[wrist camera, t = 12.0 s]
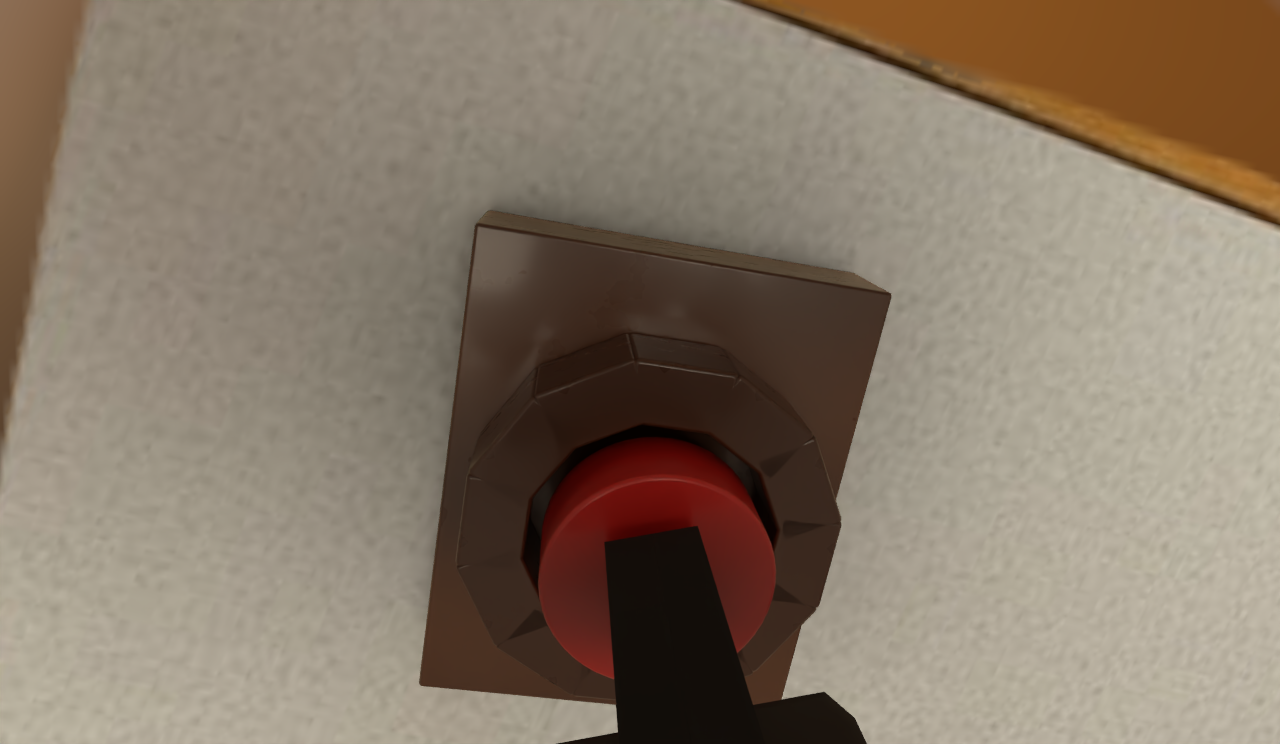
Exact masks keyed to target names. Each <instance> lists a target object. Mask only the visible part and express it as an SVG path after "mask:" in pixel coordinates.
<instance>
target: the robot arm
mask: <svg viewBox="0 0 1280 744" xmlns="http://www.w3.org/2000/svg"><path fill="white" fill-rule="evenodd" d="M604 545H605V559H606V573H607V586H608V600H609V614H610V627H611V641H612V655H613V668H614V682H615V695H616V709H617V723H618V733H612V734H607V735H601V736H596V737H590V738H585V739H580V740H574V741H569V742H563V743H558V744H867V743H866V741H865V739H864V737H863V735H862V732H861V730H860V728H859V726H858V724H857V722H856V720H855V718H854V717H853V716H852V715H851V714H849V713H848V712H847V711H846V710H845V709H844V708H842V707H841V706H840V705H839V704H838V703H837V702H836V701H834V700H833V699H832V698H831V697H830V696H829V695H828V694H826V693H825V692H821V693H816V694H810V695H805V696H799V697H794V698H788V699H783V700H777V701H772V702H766V703H761V704H755V705H753V703H752V700H751V697H750V693H749V690H748V687H747V684H746V680H745V677H744V674H743V671H742V667H741V664H740V661H739V658H738V654H737V651H736V648H735V645H734V641H733V638H732V635H731V632H730V629H729V625H728V622H727V619H726V616H725V612H724V609H723V606H722V603H721V599H720V596H719V593H718V590H717V586H716V583H715V580H714V577H713V573H712V570H711V567H710V564H709V560H708V557H707V554H706V551H705V548H704V544H703V541H702V538H701V535H700V531H699V528H698V526H692V527H687V528H681V529H675V530H670V531H664V532H658V533H653V534H647V535H641V536H636V537H630V538H624V539H618V540H613V541H607V542H604Z"/></svg>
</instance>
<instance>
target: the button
mask: <svg viewBox="0 0 1280 744" xmlns="http://www.w3.org/2000/svg"><path fill="white" fill-rule="evenodd" d="M692 526H698V528H699V531H700V535H701V538H702V541H703V544H704V548H705V551H706V554H707V557H708V560H709V564H710V567H711V570H712V573H713V577H714V580H715V583H716V586H717V590H718V593H719V596H720V599H721V603H722V606H723V609H724V612H725V616H726V619H727V622H728V625H729V629H730V632H731V635H732V638H733V641H734V645H735V648H736V651H737V653H738V652H739V651H740V650H741V649H742V648H743V647H745V646H746V644H747V643H748V642H749V641H750V640H751V639H752V637H753V636H754V635H755V634H756V632H757V631H758V629H759V628H760V626H761V625H762V623H763V621H764V619H765V617H766V615H767V613H768V610H769V607H770V604H771V601H772V598H773V594H774V589H775V583H776V564H775V555H774V552H773V548H772V544H771V541H770V539H769V536H768V534H767V532H766V530H765V527H764V525H763V523H762V521H761V519H760V517H759V515H758V513H757V510H756V508H755V506H754V504H753V502H752V500H751V498H750V496H749V493H748V491H747V489H746V488H745V486H744V484H743V483H742V481H741V479H740V478H739V477H738V476H737V474H736V473H735V472H734V471H733V470H732V468H731V467H730V466H728V465H727V464H726V463H725V462H724V461H723V460H722V459H720V458H719V457H717V456H716V455H714V454H713V453H711V452H710V451H708V450H706V449H704V448H702V447H700V446H698V445H695V444H692V443H689V442H686V441H683V440H678V439H673V438H665V437H641V438H635V439H629V440H625V441H621V442H618V443H615V444H612V445H609V446H607V447H605V448H602V449H600V450H598V451H596V452H595V453H593V454H591V455H590V456H588V457H586V458H585V459H584V460H583V461H581V462H580V463H579V464H577V465H576V466H575V467H574V468H573V469H572V470H571V471H570V472H569V473H568V474H567V475H566V476H565V477H564V479H563V480H562V481H561V483H560V484H559V485H558V487H557V488H556V490H555V492H554V493H553V495H552V497H551V499H550V501H549V504H548V506H547V509H546V511H545V516H544V520H543V525H542V536H541V549H540V563H539V576H538V591H539V600H540V605H541V609H542V612H543V615H544V618H545V620H546V623H547V625H548V626H549V628H550V630H551V632H552V634H553V635H554V637H555V638H556V639H557V640H558V642H559V643H560V644H561V646H562V647H563V648H564V649H565V650H566V651H567V652H568V653H569V654H570V655H571V656H572V657H573V658H575V659H576V660H577V661H579V662H580V663H581V664H583V665H584V666H586V667H587V668H589V669H591V670H593V671H594V672H596V673H599V674H601V675H603V676H606V677H608V678H611V679H614V668H613V655H612V641H611V627H610V614H609V600H608V586H607V573H606V559H605V545H604V542H607V541H613V540H618V539H624V538H630V537H636V536H641V535H647V534H653V533H658V532H664V531H670V530H675V529H681V528H687V527H692Z"/></svg>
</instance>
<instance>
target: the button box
mask: <svg viewBox="0 0 1280 744" xmlns="http://www.w3.org/2000/svg"><path fill="white" fill-rule="evenodd" d="M890 300H891V293H889V292H887V291H886V290H884V289H882V288H880V287H878V286H876V285H875V284H873V283H871V282H869V281H867V280H865V279H864V278H862V277H860V276H858V275H856V274H855V273H850V272H845V271H839V270H833V269H827V268H821V267H816V266H810V265H804V264H798V263H792V262H787V261H781V260H775V259H769V258H763V257H758V256H752V255H746V254H740V253H734V252H729V251H723V250H717V249H711V248H705V247H700V246H694V245H688V244H682V243H676V242H671V241H665V240H659V239H653V238H647V237H642V236H636V235H630V234H624V233H618V232H613V231H607V230H601V229H595V228H589V227H584V226H578V225H572V224H566V223H560V222H555V221H549V220H543V219H537V218H531V217H526V216H520V215H514V214H508V213H502V212H497V211H491V210H490V211H487V212H486V213H485V215H484V216H483V217H482V218H481V219H480V220H479V221H478V222H477V223H476V225H475V229H474V237H473V246H472V254H471V262H470V270H469V278H468V287H467V295H466V303H465V311H464V319H463V327H462V336H461V344H460V352H459V360H458V368H457V377H456V385H455V393H454V401H453V409H452V417H451V426H450V434H449V442H448V450H447V458H446V466H445V475H444V483H443V491H442V499H441V507H440V516H439V524H438V532H437V540H436V548H435V556H434V565H433V573H432V581H431V589H430V597H429V606H428V614H427V622H426V630H425V638H424V646H423V655H422V663H421V671H420V679H419V683H420V685H421V686H428V687H439V688H449V689H459V690H470V691H480V692H490V693H501V694H511V695H521V696H532V697H542V698H552V699H563V700H573V701H583V702H594V703H604V704H614V705H616V695H615V682H614V679H611V678H608V677H606V676H603V675H601V674H599V673H596V672H594V671H593V670H591V669H589V668H587V667H586V666H584V665H583V664H581V663H580V662H579V661H577V660H576V659H575V658H573V657H572V656H571V655H570V654H569V653H568V652H567V651H566V650H565V649H564V648H563V647H562V646H561V644H560V643H559V642H558V640H557V639H556V638H555V637H554V635H553V634H552V632H551V630H550V628H549V626H548V625H547V623H546V620H545V618H544V615H543V612H542V609H541V605H540V600H539V591H538V576H539V563H540V549H541V536H542V525H543V520H544V516H545V511H546V509H547V506H548V504H549V501H550V499H551V497H552V495H553V493H554V492H555V490H556V488H557V487H558V485H559V484H560V483H561V481H562V480H563V479H564V477H565V476H566V475H567V474H568V473H569V472H570V471H571V470H572V469H573V468H574V467H575V466H576V465H577V464H579V463H580V462H581V461H583V460H584V459H585V458H586V457H588V456H590V455H591V454H593V453H595V452H596V451H598V450H600V449H602V448H605V447H607V446H609V445H612V444H615V443H618V442H621V441H625V440H629V439H635V438H641V437H665V438H673V439H678V440H683V441H686V442H689V443H692V444H695V445H698V446H700V447H702V448H704V449H706V450H708V451H710V452H711V453H713V454H714V455H716V456H717V457H719V458H720V459H722V460H723V461H724V462H725V463H726V464H727V465H728V466H730V467H731V468H732V470H733V471H734V472H735V473H736V474H737V476H738V477H739V478H740V479H741V481H742V483H743V484H744V486H745V488H746V489H747V491H748V493H749V496H750V498H751V500H752V502H753V504H754V506H755V508H756V510H757V513H758V515H759V517H760V519H761V521H762V523H763V525H764V527H765V530H766V532H767V534H768V536H769V539H770V541H771V544H772V548H773V552H774V555H775V564H776V583H775V589H774V594H773V598H772V601H771V604H770V607H769V610H768V613H767V615H766V617H765V619H764V621H763V623H762V625H761V626H760V628H759V629H758V631H757V632H756V634H755V635H754V636H753V637H752V639H751V640H750V641H749V642H748V643H747V644H746V646H745V647H743V648H742V649H741V650H740V651H739V652H738V653H737V654H738V658H739V661H740V664H741V667H742V671H743V674H744V677H745V680H746V684H747V687H748V690H749V693H750V697H751V700H752V703H753V705H755V704H761V703H766V702H772V701H777V700H781V699H782V695H783V691H784V688H785V684H786V680H787V677H788V673H789V669H790V666H791V662H792V658H793V655H794V651H795V647H796V644H797V640H798V636H799V633H800V629H801V625H802V624H803V623H804V622H805V621H806V620H807V619H808V618H809V617H810V616H811V615H812V614H813V613H814V612H815V610H816V607H818V606H819V604H820V600H821V597H822V593H823V590H824V586H825V582H826V579H827V575H828V572H829V568H830V564H831V561H832V557H833V554H834V550H835V546H836V543H837V539H838V536H839V532H840V528H841V516H840V512H839V509H838V506H837V503H836V497H837V494H838V490H839V486H840V483H841V479H842V476H843V472H844V468H845V465H846V461H847V457H848V454H849V450H850V446H851V443H852V439H853V435H854V432H855V428H856V424H857V421H858V417H859V413H860V410H861V406H862V402H863V399H864V395H865V391H866V388H867V384H868V380H869V377H870V373H871V369H872V366H873V362H874V358H875V355H876V351H877V348H878V344H879V340H880V337H881V333H882V329H883V326H884V322H885V318H886V315H887V311H888V307H889V304H890Z"/></svg>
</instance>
